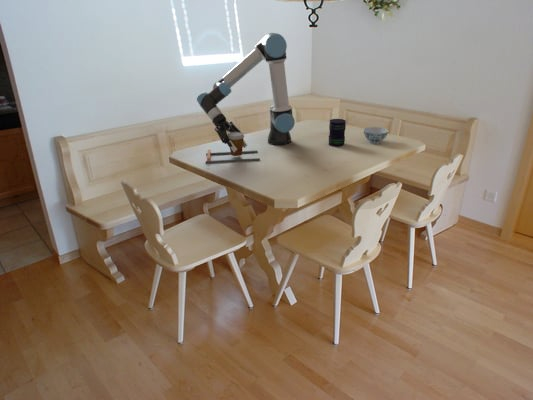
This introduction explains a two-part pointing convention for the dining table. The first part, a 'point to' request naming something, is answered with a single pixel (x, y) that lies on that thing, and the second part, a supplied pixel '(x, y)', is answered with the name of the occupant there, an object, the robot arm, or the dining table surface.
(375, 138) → the chinaware
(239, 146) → the disposable coffee cup
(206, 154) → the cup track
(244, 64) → the robot arm
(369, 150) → the dining table surface
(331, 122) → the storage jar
